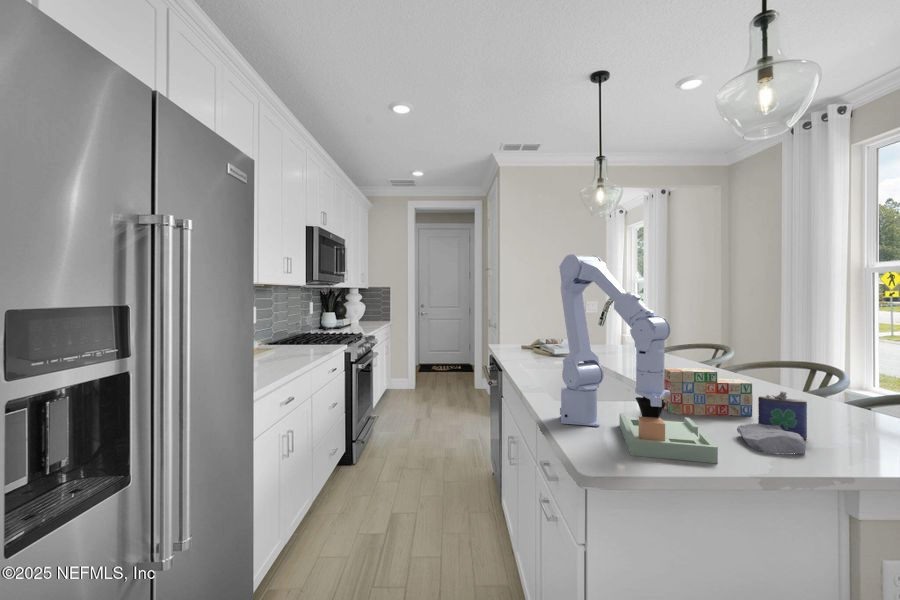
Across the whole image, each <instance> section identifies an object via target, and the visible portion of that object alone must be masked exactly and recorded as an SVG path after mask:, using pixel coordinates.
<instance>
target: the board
mask: <svg viewBox="0 0 900 600" xmlns="http://www.w3.org/2000/svg"><path fill="white" fill-rule="evenodd" d="M663 422H664V423H665V441H655V440H643V439H639V418H630V417H626V415H625V413H624V412H620V413H619V427H620V430H622V431H621V433H622V436H623V438H624V441H625V444H626V446H627V448H628V449H627V450H628V451H629V453H630V454H629V455H630V456H633V457H634V456H636V457H645V458H648V457H649V458H658V459H667V460H678V461H687V462H688V461H690V462H699V463H710V464H718V463H719V462H718V455H719V452H718V451H719V450H718V449H719V446H717V445H716V444H715V443H714V442H713V441H712V440H711V439H710V438H709V436H707V435H706V434H705V433H699V432H698V431H699V427H698V425H697V424H696V423H695V422H694V420H692V419H691V418H690V417H684V421H672V420H663Z"/></svg>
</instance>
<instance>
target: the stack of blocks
mask: <svg viewBox="0 0 900 600" xmlns="http://www.w3.org/2000/svg"><path fill="white" fill-rule="evenodd" d="M664 390H669V391H670V395H665V396H664V397H663V398H662V399H663V400H664V402H665V407H664V408H665V409H666V410H665V409H664V408H663V409H664V410H665V411H667V410H668V411H669V412H668V411H667V412H668V413H669V414H671V413H676V415H693V414H695V415H696V416H730V415H733V416H735V417H737V416H738V417H753V383H751V382H749V381H747V380H743V379H740V378H736V379H735V378H718V371H716V370H713V369H710V368H705V367H664ZM695 415H694V416H695Z"/></svg>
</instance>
